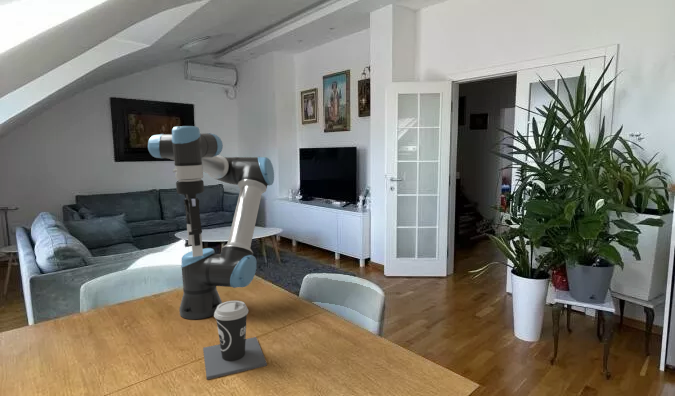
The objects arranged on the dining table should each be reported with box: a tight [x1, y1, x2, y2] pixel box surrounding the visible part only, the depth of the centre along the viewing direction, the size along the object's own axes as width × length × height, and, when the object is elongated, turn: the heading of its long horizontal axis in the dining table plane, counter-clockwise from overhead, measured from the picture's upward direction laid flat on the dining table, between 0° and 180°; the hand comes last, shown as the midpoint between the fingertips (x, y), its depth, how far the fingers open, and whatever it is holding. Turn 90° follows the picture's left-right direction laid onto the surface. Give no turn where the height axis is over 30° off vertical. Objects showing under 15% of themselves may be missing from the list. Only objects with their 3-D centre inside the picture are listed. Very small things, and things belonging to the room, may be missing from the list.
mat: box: [202, 336, 268, 381], centre depth 109 cm, size 16×16×1 cm
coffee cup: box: [213, 300, 249, 361], centre depth 108 cm, size 10×10×15 cm
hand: (195, 249), depth 113 cm, fingers open, 13 cm apart
